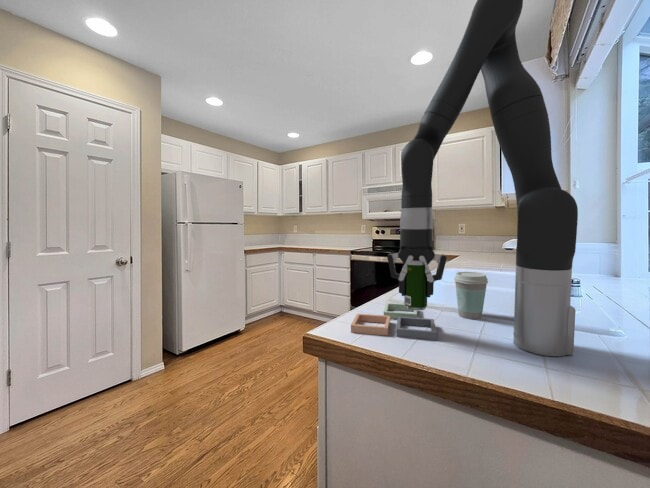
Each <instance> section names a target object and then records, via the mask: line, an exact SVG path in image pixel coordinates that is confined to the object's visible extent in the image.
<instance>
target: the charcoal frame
mask: <svg viewBox="0 0 650 488" xmlns="http://www.w3.org/2000/svg"><path fill="white" fill-rule="evenodd" d="M396 320H397V321H396V328H395V329H396V331H395V333H396V336H395V337H399V338H408V339H421V340H430V341H432V340H433V341H438V331H437V327H436V324H435V320H434V319H433V318H424V317H423V318H422V317H417V318H411V317H398V319H396ZM402 325H404V326H415V327H419V326H420V327H429V328H430V330H426V329H416V328H415V329H414V328H413V329H412V328H405V327H401V326H402Z"/></svg>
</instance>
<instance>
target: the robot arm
mask: <svg viewBox="0 0 650 488" xmlns="http://www.w3.org/2000/svg"><path fill="white" fill-rule="evenodd" d="M523 4H524V0H476V2H475V4H474V5H473V6H474V7H473V9H472V12H471V15H470V18H469V21H468V24H467V26H466V28H465V31H464V34H463V36H462V39H461V41H460V43H459V45H458V48H457V50H456V52H455V55H454V57H453V59H452V61H451V62H450V65H449V66H448V69H447V71H446V72H445V74H444V76H443V78H442V80H441V82H440V84H439V86H438V87H437V90H436V91H435V92H434V95H433V96H432V98H431V100H430V102H429V104H428V106H427V108H426V109H425V111H424V113H423V115H422V117H421V120H420V122H419V125H418V128H417V132H416V133H415V135H414V136H413V139H412V140H410V141H409V142H408V143H406V145H405V146H404V148H403V149H402V151H401V156H400V157H401V159H400V161H401V165H400V166H401V181H402V186H401V187H402V188H401V189H402V190H401V205H400V206H401V209H400V210H401V211H400V218H399V219H400V220H399V229H400V231H399V235H400V236H399V240H400V241H399V251H398V252H396V253H389V254H387V262H388V267H389V272H390V277H391V278H392V279H396V280H397V281H398V293H399V294H401V296H402V297H404V296H405V275H406V273H407V264H408V263H409V262H410V260H420V261H423V263H424V264H425V274H426V276H427V278H428V281H427V298H431V296H433V295H434V283H435V282H437V281H440V280H442V279H443V275H444V271H445V267H446V262H447V256H446V255H445V254H443V253H442V254H440V253H439V254H438V253H435V251H434V249H433V246H434V244H433V243H434V242H433V239H434V236H433V234H434V214H433V189H432V187H433V186H432V181H433V170H434V161H435V158H436V155H437V154H438V153H439V150H440V149H441V146H442V144H443V142H444V141H445V140H444V139H445V138H446V137H447V135H448V134H449V132H450V131H451V130H452V128H453V125H454V124H455V122H456V121H457V119H458V117H459V115H460V113H461V112H462V110H463V109H464V106H465V104H466V102H467V100H468V98H469V96H470V95H471V91H472V89H473V87H474V85H475V82H476V80H477V78H478V76H479V73H480V72H481V74H482V77H483V80H484V81H483V82H484V86H485V91H486V92H485V93H486V97H487V103H488V107H489V112H490V117H491V118H490V119H491V121H492V125H493V129H494V132H495V136H496V139H497V141H498V145H499V147H500V150H501V153H502V155H503V157H504V160H505V162H506V164H507V166H508V169H509V171H510V174H511V177H512V183H513V186H514V192H515V193H514V194H515V199H516V208H517V210H516V211H517V213H516V214H517V226H516V227H517V229H516V233H517V234H516V249H515V250H516V251H515V276H514V277H515V279H514V280H515V281H514V282H515V284H514V285H515V286H514V311H513V313H514V315H513V344H515V346H516V347H518V348H520V349H522V350H524V351H527V352H530V353H533V354H536V355H541V356H546V357H563V356H567V355H568V356H569V355H570V356H574V350H575V347H574V346H575V331H576V330H575V326H576V324H575V323H576V307H574V306H572V305H571V300H572V299H571V296H572V278H573V276H572V274H573V261H574V258H575V254H576V247H577V234H578V221H579V220H578V219H579V218H578V216H579V213H578V212H579V211H578V209H579V208H578V205H577V202H576V200H575V198H574V197H573V195H572V194H570V193H569V192H568V191H567V190H564V189H562V187H561V184H560V181H559V179H558V177H557V176H558V175H557V174H556V171H555V168H554V164H553V163H554V162H553V157H552V156H553V154H552V134H551V133H552V132H551V126H550V119H549V113H548V110H547V109H548V108H547V105H546V102H545V98H544V95H543V92H542V90H541V87H540V86H539V84H538V83H537V81H536V80H535V78H534V77H533V76H532V75H531V74H530V73H529V72H528V71H527V69H526V68H525V67H524V64H522V63H523V62H522V61H521V59H520V54H519V51H518V44H517V37H516V28H517V25H518V22H519V19H520V17H521V14H522V11H523ZM398 258H399V259H400V260H401V262H402V263H403V265H402V268H401V271H400V272H399V273H397V269H396V265H395V264H396V262H397V261H398V260H397V259H398ZM433 259H435V262H436V264H437V268H436V273H435V274H432V271H431V270H430V267H429V264H430V263H431V262H432V261H433ZM426 268H427V269H426Z"/></svg>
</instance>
